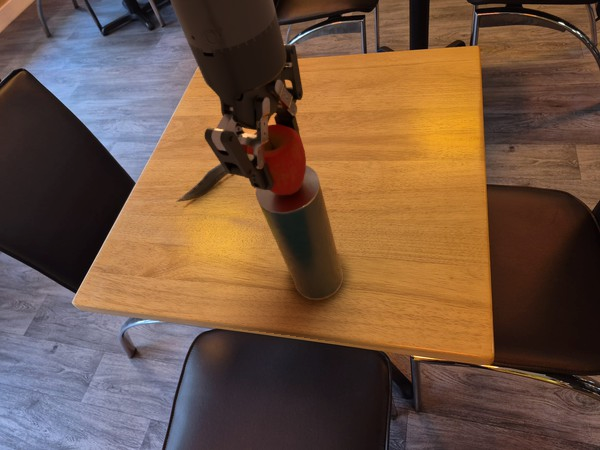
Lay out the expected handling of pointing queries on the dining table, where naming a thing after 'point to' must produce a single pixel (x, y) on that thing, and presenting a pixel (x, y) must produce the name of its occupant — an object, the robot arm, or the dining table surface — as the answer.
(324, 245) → the tin can
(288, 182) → the apple
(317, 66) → the dining table surface
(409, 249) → the dining table surface
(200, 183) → the knife
